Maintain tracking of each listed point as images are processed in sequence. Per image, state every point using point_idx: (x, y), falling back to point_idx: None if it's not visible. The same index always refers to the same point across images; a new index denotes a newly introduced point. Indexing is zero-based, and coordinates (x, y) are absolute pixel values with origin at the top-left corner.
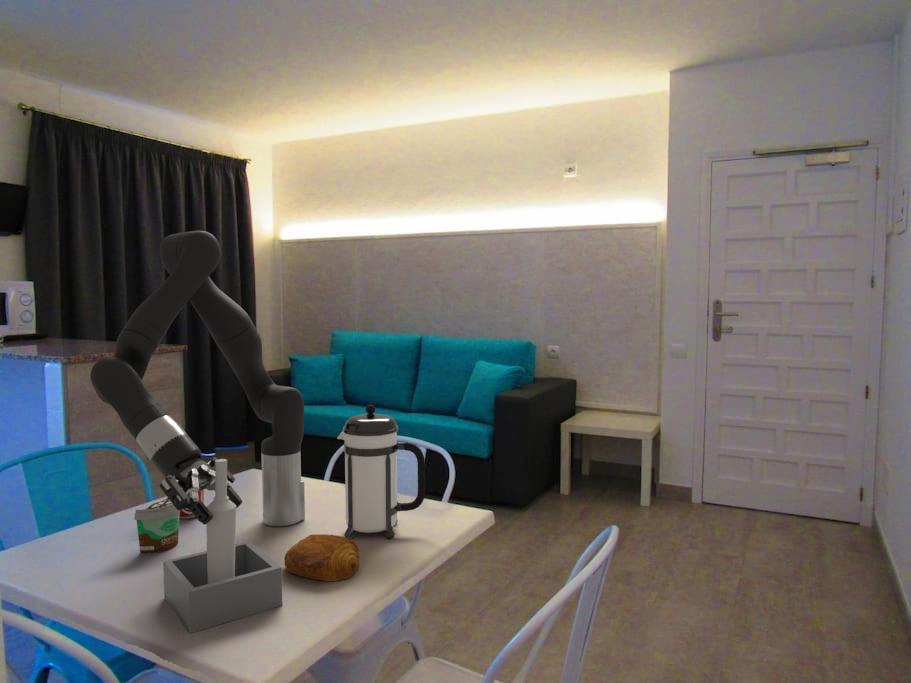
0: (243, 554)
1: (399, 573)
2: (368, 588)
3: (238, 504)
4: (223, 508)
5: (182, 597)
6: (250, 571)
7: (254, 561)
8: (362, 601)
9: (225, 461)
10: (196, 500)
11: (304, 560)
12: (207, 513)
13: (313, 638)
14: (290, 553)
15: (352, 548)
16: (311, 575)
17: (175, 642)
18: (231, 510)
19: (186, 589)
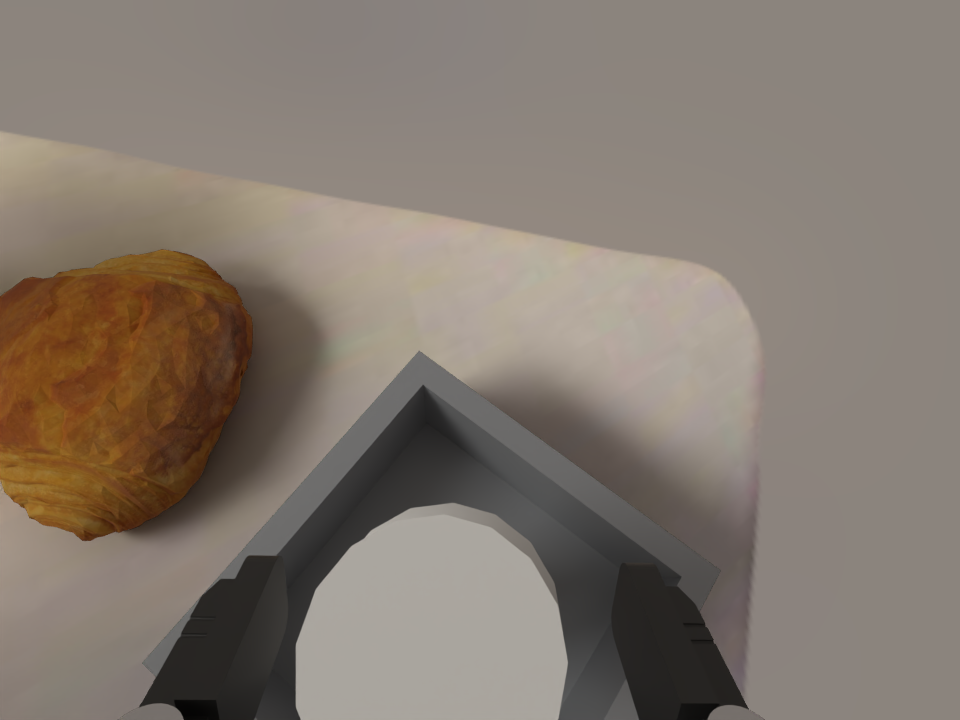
0: None
1: (158, 176)
2: (270, 221)
3: (282, 572)
4: (516, 546)
5: None
6: None
7: (296, 548)
8: (352, 211)
9: (449, 521)
10: (747, 716)
11: (214, 388)
12: (667, 591)
13: (562, 250)
14: (155, 467)
15: (87, 268)
16: (240, 379)
17: (716, 585)
18: (469, 508)
19: (705, 599)
